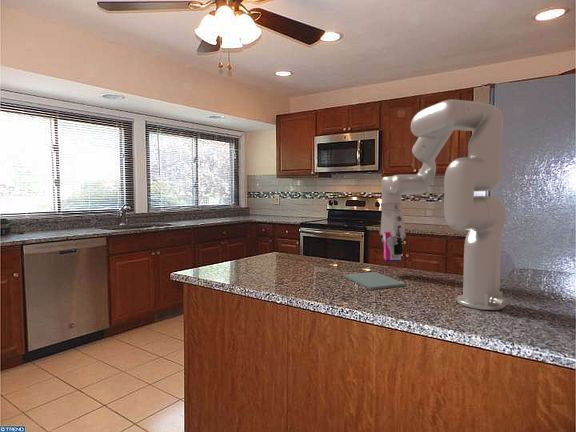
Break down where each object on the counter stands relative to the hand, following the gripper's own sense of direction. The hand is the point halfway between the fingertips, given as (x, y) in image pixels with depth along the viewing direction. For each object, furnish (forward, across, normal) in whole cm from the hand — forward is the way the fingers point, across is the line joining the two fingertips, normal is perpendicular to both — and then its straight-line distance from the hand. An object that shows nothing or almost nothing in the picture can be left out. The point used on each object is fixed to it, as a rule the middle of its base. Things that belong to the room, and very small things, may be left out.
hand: (392, 252), depth 150 cm
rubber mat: (+9, -6, +12) cm, 16 cm away
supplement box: (+3, 0, 0) cm, 3 cm away
